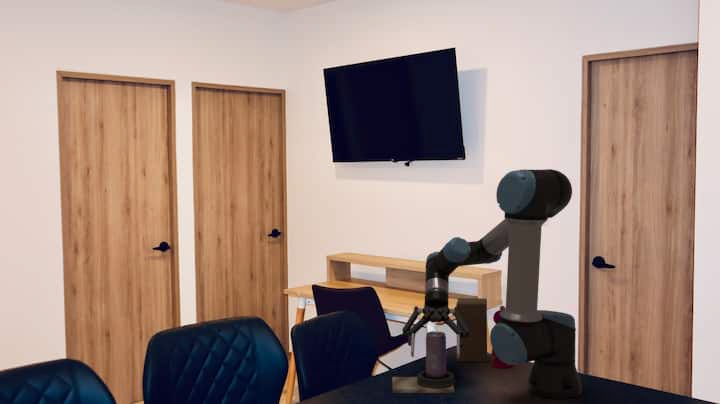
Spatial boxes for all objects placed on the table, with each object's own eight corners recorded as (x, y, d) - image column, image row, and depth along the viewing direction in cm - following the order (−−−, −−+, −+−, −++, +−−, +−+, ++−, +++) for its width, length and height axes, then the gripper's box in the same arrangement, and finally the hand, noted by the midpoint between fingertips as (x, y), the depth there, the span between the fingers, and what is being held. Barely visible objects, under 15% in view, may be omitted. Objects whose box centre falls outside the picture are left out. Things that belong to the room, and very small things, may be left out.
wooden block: (486, 362, 227) (486, 303, 226) (456, 361, 229) (456, 303, 228) (487, 354, 237) (486, 298, 236) (458, 353, 239) (457, 297, 238)
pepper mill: (487, 365, 224) (486, 305, 223) (500, 361, 228) (500, 302, 228) (505, 370, 218) (504, 308, 217) (518, 365, 223) (518, 305, 222)
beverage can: (449, 381, 204) (449, 332, 203) (441, 387, 199) (440, 336, 198) (431, 378, 207) (431, 330, 206) (423, 384, 202) (422, 334, 201)
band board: (451, 380, 209) (451, 369, 209) (455, 392, 197) (455, 381, 197) (392, 380, 209) (392, 369, 209) (392, 392, 198) (392, 381, 197)
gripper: (476, 303, 216) (477, 362, 202) (398, 302, 220) (394, 360, 205) (476, 289, 210) (477, 349, 196) (396, 288, 214) (392, 347, 200)
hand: (435, 355), depth 201 cm, fingers open, 13 cm apart
